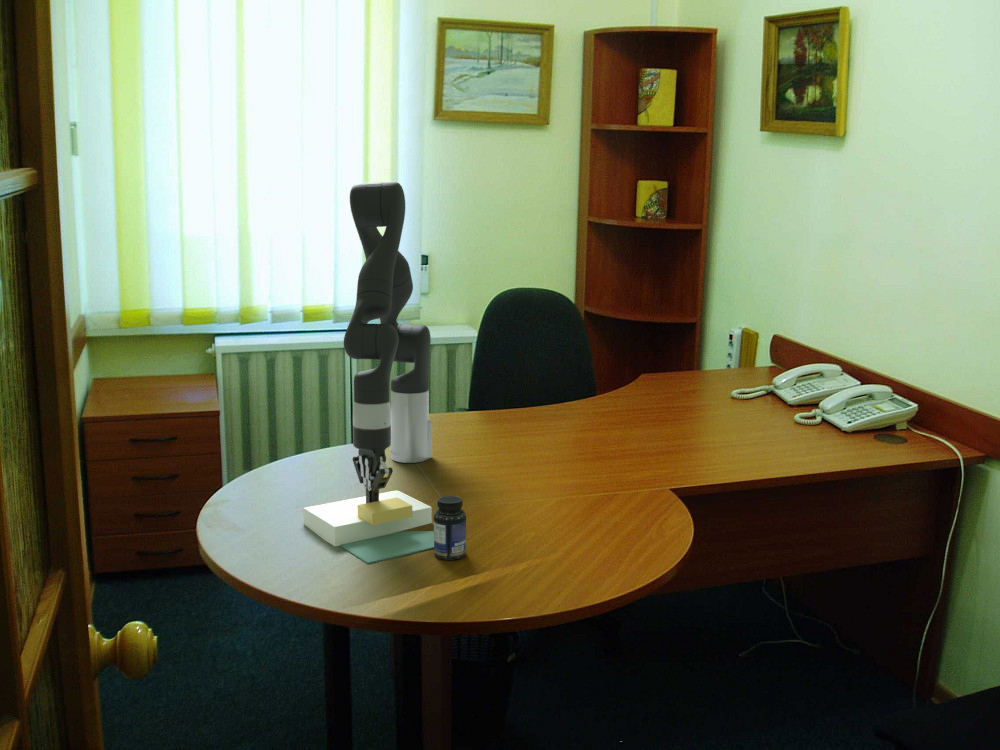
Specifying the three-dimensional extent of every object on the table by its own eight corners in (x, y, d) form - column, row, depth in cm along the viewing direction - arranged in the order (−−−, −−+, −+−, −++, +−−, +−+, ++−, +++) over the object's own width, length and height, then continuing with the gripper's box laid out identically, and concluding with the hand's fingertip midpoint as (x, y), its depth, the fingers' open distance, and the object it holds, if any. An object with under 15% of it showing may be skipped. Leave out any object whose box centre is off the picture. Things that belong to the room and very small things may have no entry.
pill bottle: (466, 549, 184) (466, 494, 182) (466, 561, 178) (466, 504, 176) (434, 549, 184) (434, 494, 182) (433, 561, 178) (433, 504, 176)
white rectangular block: (397, 507, 208) (397, 490, 207) (431, 525, 197) (431, 507, 196) (303, 526, 195) (303, 507, 194) (334, 546, 184) (334, 526, 183)
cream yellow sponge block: (397, 508, 195) (397, 497, 194) (412, 517, 190) (412, 505, 189) (357, 516, 189) (357, 504, 189) (372, 525, 185) (372, 513, 184)
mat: (428, 527, 196) (428, 525, 196) (458, 542, 187) (458, 541, 187) (340, 546, 184) (340, 544, 184) (367, 563, 176) (367, 562, 176)
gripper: (405, 427, 187) (405, 512, 190) (372, 415, 197) (373, 495, 200) (371, 432, 183) (371, 519, 186) (339, 419, 193) (340, 501, 196)
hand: (372, 506), depth 193 cm, fingers closed
